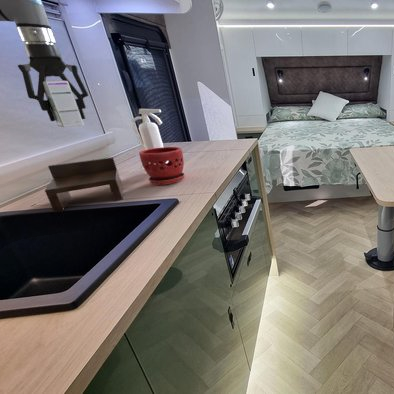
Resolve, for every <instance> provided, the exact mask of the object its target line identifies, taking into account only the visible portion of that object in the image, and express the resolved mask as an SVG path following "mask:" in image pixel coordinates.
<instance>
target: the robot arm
mask: <svg viewBox="0 0 394 394" xmlns="http://www.w3.org/2000/svg"><path fill="white" fill-rule="evenodd" d="M0 22H13V23H15V26H16V28H17V31H18V34H19V36H20V38H21V41H22V42H23V43H24V45H23V46H24V49H25V51H26V55H27V57H28V58H29V60H28V61H29V62H28V63H25V64H18V65H17V67H18V69H19V70H20V72H21V73H22V78H23V81H24V86H25V89H26V93H27V97H28V98H29V99H30V100H31V99H32V100H36V101H37V102H38V104H39V106H40V109H41V110H42V111H44V112H47V115H48V116H49V120H50V122H56V120H55V118H54V115H53V113H52V110H51V108H50V105H49V102H48V100H47V99H45V93H44V84H43V82H44V81H47V77H49V78H50V77H57V78H60V80H62V81H68V83H69V86H70V88H71V91H72V93H73V95H74V97H76V98H74V99H75V101H76V104H77V107H78V109H79V112H80V115H81V118H82V120H86V115H85V113H84V109H86V104H85V103H86V102H85V100H84V98H87V97H89V92H88V90H87V89H86V86H85V84H84V83H83V81H82V78H81V77H80V75H79V70H78V69H79V68H78V66H77V65H75V64H67V63H66V62H64V60H63V58H62V55H61V52H60V49H59V47H58V46H57V45H56V44H57V41H56V38H55V34H54V33H53V30H52V27H51V25H50V21H49V18H48V16H47V12H46V9H45V6H44V4H43V2H42V0H0ZM31 68H32V69H33V70H34V71H36V72H37V73H38V82H37V83H38V84H37V92H36V93H37V94H35V90H34V86H33V81H32V76H31V73H30V72H31V71H32V70H31ZM66 68H67V69H68V71H69V72H71V74H72V76H73V77H74V80H75V82H76V83H77V85H78V87H79V89H80V91H78V89H77V88H76V87H75V86H74V85H73V83H72V82H71V81H70V80H69V78H68V77H67V76H66V74H65V73H64V72H65V71H66ZM80 92H81V93H80Z"/></svg>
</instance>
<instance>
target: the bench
mask: <svg viewBox="0 0 394 394" xmlns="http://www.w3.org/2000/svg"><path fill="white" fill-rule="evenodd" d="M47 168H48V170H49V172H50V174H51V177H52V179H51V181H50V183H49V184H48V185H47V186H46V188H45V189H44V193H45V195H46V197H47V199H48V201H49V203H50V206H51V208H52V211H53V212H54V213H55V214H56V213H60V212H63V211H62V210H63V208H64V207H65V206H66V207H67V205H68V203H69V201H70V199H71V193H70V192H75V191H79V190H80V191H81V190H85V189H86V190H87V189H93V188H99V187H103V186H109V189H110V192H111V194H112V197H113V200H114V202H119V201H123V200H124V186H123V183H122V180H121V177H120V174H119V171H118V168H117V165H116V162H115V159H114V157H105V158H97V159H89V160H81V161H73V162H66V163H58V164H51V165H48V166H47ZM66 207H65V208H66Z"/></svg>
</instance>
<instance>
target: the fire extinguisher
mask: <svg viewBox="0 0 394 394" xmlns="http://www.w3.org/2000/svg"><path fill="white" fill-rule="evenodd" d="M156 113H157V114H158V113H162V110H161V109H160V108H159V109H158V108H157V109H156V108H138V115H140V116H136V117H134V118H133V119H131V127H132V129H133V131H134V133H135V134H136V136H137V139H138V141H139V144H140V147H141V149H142V151H143V150H148V149H153V148H161V147H165V146H164V144H163V139H162V136H161V133H160V129H159V127H158V125H159V126H161V125H162V124H163V121H162V120H161V118H159V117H158V116H157V115H155V114H156ZM149 117H150V118H152V119H153V120H155V121H156V123H157V124H158V125H157V124H156V123H155V122H152V121H151V119H150V118H149ZM138 120H141V121H142V122H141V123H140V124H139V125H138V129H137V128H136V121H138ZM168 162H169V161H167V162H166V163H168ZM154 164H155V163H154ZM155 165H156V164H155ZM140 170H141V171H144V172H146V171H145V169H144V167H143V165H142V164H141V167H140Z"/></svg>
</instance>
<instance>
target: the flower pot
mask: <svg viewBox="0 0 394 394" xmlns="http://www.w3.org/2000/svg"><path fill="white" fill-rule="evenodd" d="M138 153H139V159H140V162H141V166H142V165H143V167H144V169H145V171H144V172H146V173H147V175H148V176H149V178H148V181H149V183H151V184H153V185H159V186H165V185H171V184H175V183H178V182H181V181H182V180H183V179H184V178H185V176H186V174H185V173H184V172H183V170H184V167H185V165H184V164H185V161H184V154H183V150H182V148H181V147H178V146H164V147H161V148H153V149H148V150H143V149H142V150H141V151H139V152H138ZM167 161H168V163H166V162H167ZM154 163H155V164H156V165H155V164H154Z"/></svg>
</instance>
